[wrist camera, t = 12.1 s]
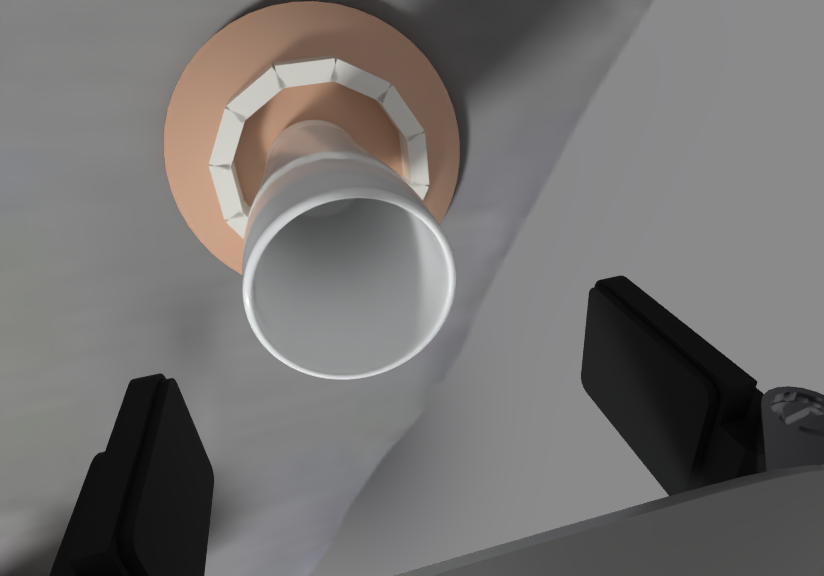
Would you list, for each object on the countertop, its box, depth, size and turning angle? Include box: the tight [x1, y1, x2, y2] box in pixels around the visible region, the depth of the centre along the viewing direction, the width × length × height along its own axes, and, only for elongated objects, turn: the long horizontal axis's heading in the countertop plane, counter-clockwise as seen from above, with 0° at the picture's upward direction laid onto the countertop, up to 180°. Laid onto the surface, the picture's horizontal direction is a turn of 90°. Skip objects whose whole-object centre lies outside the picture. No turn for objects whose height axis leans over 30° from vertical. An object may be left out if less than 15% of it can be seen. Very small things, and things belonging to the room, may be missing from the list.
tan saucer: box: [164, 1, 460, 275], centre depth 29 cm, size 16×16×3 cm
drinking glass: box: [242, 120, 457, 380], centre depth 22 cm, size 7×7×15 cm
